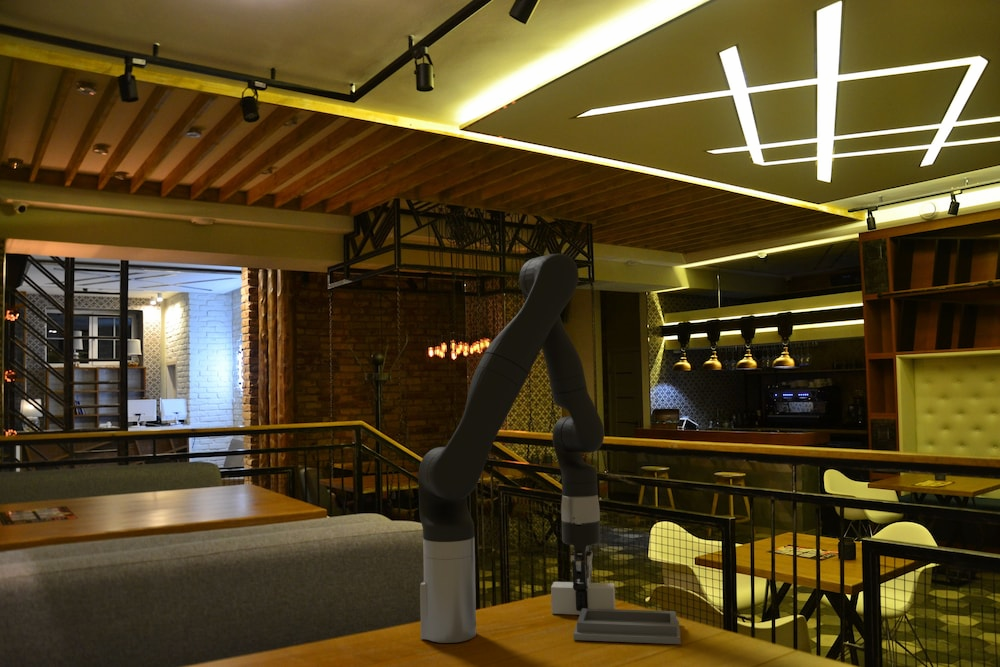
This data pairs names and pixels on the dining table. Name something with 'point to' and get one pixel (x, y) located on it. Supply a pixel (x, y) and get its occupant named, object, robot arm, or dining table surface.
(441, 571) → the robot arm
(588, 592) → the off-white tapered block
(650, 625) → the cradle
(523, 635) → the dining table surface
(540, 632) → the dining table surface
